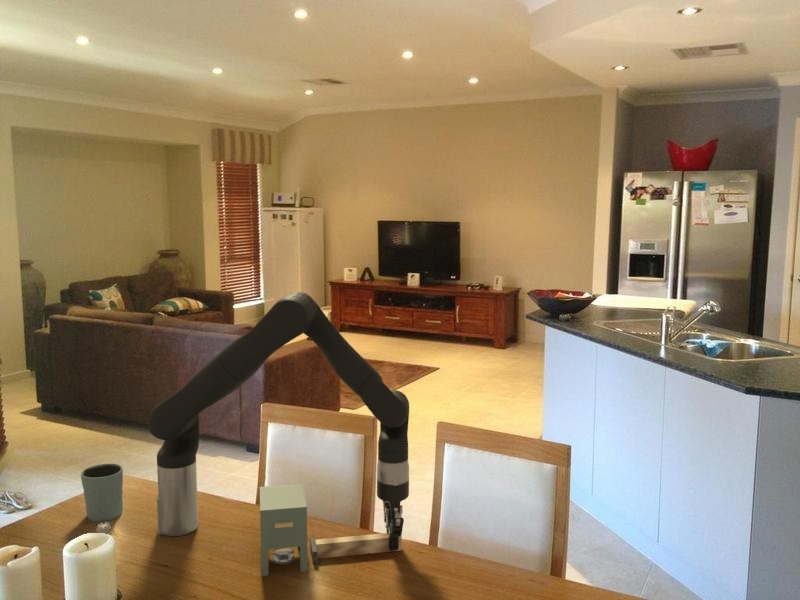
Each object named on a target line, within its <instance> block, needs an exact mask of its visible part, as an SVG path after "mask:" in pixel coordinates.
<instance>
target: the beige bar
mask: <svg viewBox="0 0 800 600" xmlns="http://www.w3.org/2000/svg"><path fill="white" fill-rule="evenodd" d="M309 539H310V540H309V541H310V546H309V547H310V548H309V549H310V555H311V562H312V564H313V565H316V564H318V559H325V558H326V559H327V558H335V557H346V556H357V555H367V554H368V553H369V554H377V553H387V552H391V551H390V550H389V535H388V533H387V532H386V533H385V532H383V533H373V534H371V533H370V534H362V535H353V536H351V535H350V536H340V537H328V538H321V539H320V538H319V539H315V536H313V537H311V536H310V538H309ZM402 546H403V545H402V535H401V536H399V548H398V550H394V551H393V552H398V551H402Z"/></svg>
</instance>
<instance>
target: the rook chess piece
mask: <svg viewBox="0 0 800 600" xmlns="http://www.w3.org/2000/svg"><path fill="white" fill-rule="evenodd" d="M111 529H112V526H111V524H110V522H107V521H101V522H100V523H98V524H97V527H96V528H95V531H96V532H97V533H105V534H109V535H110V536H111V534H112V533H111V532H110V531H111Z"/></svg>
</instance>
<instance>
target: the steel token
mask: <svg viewBox="0 0 800 600" xmlns="http://www.w3.org/2000/svg"><path fill="white" fill-rule="evenodd" d="M271 558H272V559H271V560H272V563H274V564H275V565H279V566H285V565H288V564H291V563H293V562H294V561H295V551H294V550H292V549H290V548H278V549H275V550H274V551H273V553H272V557H271Z"/></svg>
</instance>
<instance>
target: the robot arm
mask: <svg viewBox="0 0 800 600" xmlns="http://www.w3.org/2000/svg"><path fill="white" fill-rule="evenodd" d="M303 334H304V335H305V336H306V337H308V338H309V339H310V340H311V341H312V342H313V343H314V344H315V345H316V346H317V348H319V349H320V351H321V352H322V353H323V355H324V356H325V358H326V360H327V361H328V363H329V365H330V366H331V368H332V370H333V371H334V373H336V375H337V376H338V378H340V380H341V381H342V382H343V383H344V384H345V385H347V386H348V388H350V390H351V391H352V392H353V393H354V394H356V395H357V396H358V397H359V398H360V399H361V400H362V401H363V403H364V405H365V406H366V407H367V409H368V410H369V411H370V412H371V414H372V415H373V416H374V418H376V419H377V421H379V422H380V423H379V424H380V425H379V427H380V430H379V431H380V432H379V437H378V442H377V444H378V445H377V451H378V452H377V455H378V456H377V465H376V496H377V498H378V499H379V500H381V501H382V507H383V508H382V509H383V521H384V523H385V524H384V527H385V529H386V533H388V535H389V550H390V551H389V552H395V551H394V550H398V548H399V536H402V534H403V527H404V521H405V520H404V517H402V515H403V511H404V510H403V505H401V503H402V501H405V500H407V499H408V498H409V495H410V465H409V464H410V463H409V439H408V434H409V433H408V431H409V421H410V420H409V419H410V402H409V399H408V397H407V395H406V394H404V392H403V391H400V390H396V389H393V390H392V389H390V388H389V387H388V386H387V385H386V384H385V383H384V381H383V377H382V375H381V374H380V373H379V372H378V371H377V370H376V369H375V368H374V367H373V366H372V365H371V364H370V363H369V362H368V361H367V360H366V359H365V358H364V357H363V356H361V354H359V352H358V351H357V350H355V348H354V347H353V346H352V345H351V344H350V343H349V342H348V341H347V339H345V337H343V335H342V334H341V333H340V332H339V331H338V329H337V328H336V327H335V326H334V324H333V323H332V322H331V320H330V319H329V318H328V317H327V314H325V313H324V311H323V310H322V308H321V307H320V306H319V304H318V303H317V302H316V300H315V299H314V298H313V297H312V296H311V295H309V294H308V293H306V292H303V291H298V290H297V291H292V292H289V293H287V294H286V295H284V296H282V297H281V298H280V299H279V300H277V301H276V302H275V303H274V304H273V305H272V307H270V309H268V311H267V312H266V314H265V315H264V316H263V317H262V318H261V319H260V320H259V321H258V322H257V323H256V324H255V325H254V326H253V327H252V328H251V329H250V330H249V331H247V332H246V333H244V334H243V335H241V336H240V337H238V338H236V339H235V340H233V341H232V342H231V343H229V344H228V345H227V346H225V347H224V348H223V349H221V350H220V351H219V352H218V353H217V354H216V355H215V356H214V357H212V358H211V359H210V360H209V361H208V362H207V363H206V364H205V365H204V366H203V367H201V369H199V371H198V372H197V373H195V375H193V377H192V378H191V379H189V380H188V382H187V383H186V384H184V386H182V387H181V388H180V389H179V390H177V391H176V392H174V393H173V394H172V395H171V396H169V397H168V398H166V399H165V400H163V401H162V402H160V403H158V404H157V405H155V406H154V408H153V409H152V410H151V411H150V414H149V417H148V420H147V427H148V431H149V433H150V434H151V436H153V437H154V438H156V439H159V440H162V441H163V443H162V445H161V447H160V448H159V449H158V451H157V453H156V465H157V466H156V470H157V472H156V473H157V497H156V511H157V513H156V515H157V532H158V533H157V534H158V535H163V536H169V537H177V536H184V535H189V534H190V533H193V532H194V531H196V530H197V528H198V527H199V515H198V514H199V511H198V503H199V502H198V481H197V478H198V477H197V476H198V474H197V473H198V472H197V453H198V450H199V445H200V414H201V413H202V412H203V411H204V410H206V409H207V408H210V407H211V406H213V405H214V404H216V403H218V402H219V401H221V400H223V399H224V398H226V397H227V396H229V395H231V394H232V393H234V391H237V390H238V389H239V388H240V387H241V386H243V385H244V384H245V383H246V382H247V381H248V380H250V379H251V378H252V377H253V376H254V375H255V374H256V373H257V372H258V371H259V369H260V368H261V367H262V366H263V365H264V364H265V362H266V361H267V360H268V359H269V358H270V356H272V354H275V352H276V351H278V350H279V349H281V348H282V347H284V346H285V345H287V344H288V343H289V342H291V341H293V340H295V339H296V338H298V337H299V336H301V335H303Z"/></svg>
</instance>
